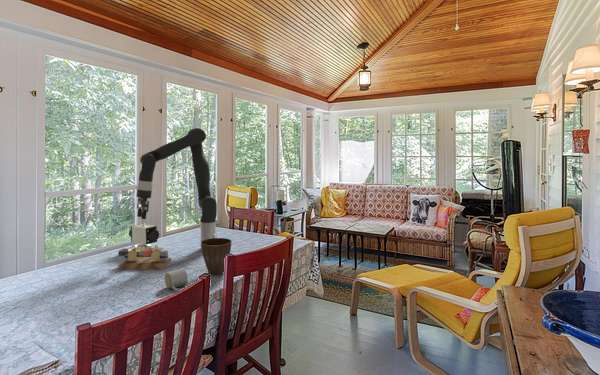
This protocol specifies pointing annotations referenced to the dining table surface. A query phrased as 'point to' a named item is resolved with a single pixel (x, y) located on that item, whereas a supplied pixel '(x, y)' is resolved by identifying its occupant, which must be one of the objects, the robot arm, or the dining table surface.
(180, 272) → the ceramic mug
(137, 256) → the pipe manifold
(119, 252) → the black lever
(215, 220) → the robot arm
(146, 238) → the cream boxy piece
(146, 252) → the red lever
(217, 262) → the plant pot
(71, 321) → the dining table surface
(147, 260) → the base board
